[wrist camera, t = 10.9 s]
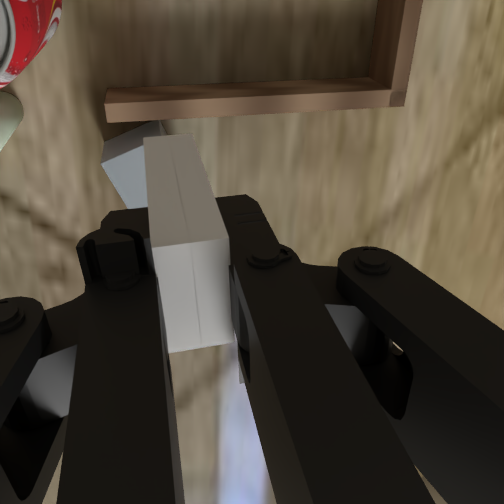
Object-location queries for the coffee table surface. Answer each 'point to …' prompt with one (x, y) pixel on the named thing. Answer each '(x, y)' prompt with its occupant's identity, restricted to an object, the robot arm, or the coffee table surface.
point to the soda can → (24, 33)
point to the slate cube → (130, 163)
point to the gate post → (9, 116)
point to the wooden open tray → (288, 83)
